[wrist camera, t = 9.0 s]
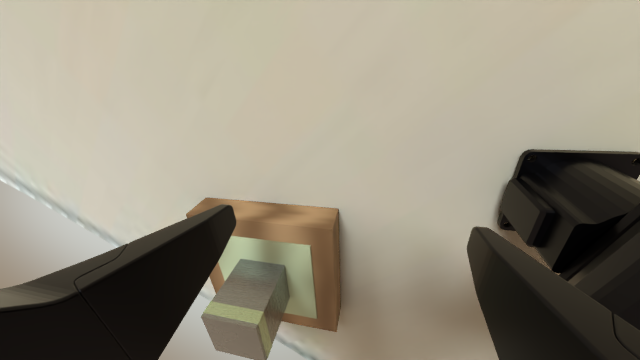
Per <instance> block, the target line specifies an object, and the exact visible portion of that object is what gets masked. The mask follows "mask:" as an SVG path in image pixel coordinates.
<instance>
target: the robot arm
mask: <svg viewBox="0 0 640 360" xmlns="http://www.w3.org/2000/svg"><path fill="white" fill-rule="evenodd" d="M531 155H534V157H533V158H532V159H530V160H528V157H529V156H531ZM636 158H637V160H636V161H635V162H633V163H632V161H633V160H634V159H636ZM639 175H640V153H638V152H617V151H575V150H534V149H531V150H527V151H525V152H524V153H522V155H521V157H520V160H519V162H518V165H517V168H516V171H515V174H514V177H513V178H512V179H511V180H510V181H509V183H508V186H507V189H506V192H505V195H504V198H503V201H502V204H501V206H500V209H501V213H500V216H499V219H498V225H499V226H500V228H502V229H504V230H512V231H517V233H518V234H519V235H520V237H521V238H522V239H523V241H524V242H525V243H526V244H527V246H529V247H534V248H535V249H536V250H537V251H538V253H539V254H540V255H541V257H542V258H543V259H544V261H545V262H546V263H547V265H548V266H549V267H550V268H551V270H552V271H551V270H550V269H548V268H547V267H545V266H544V265H542V264H541V263H539V262H538V261H536V260H535V259H533V258H532V257H531V256H529V255H528V254H526V253H525V252H523V251H522V250H520V249H519V248H517V247H516V246H514V245H513V244H511V243H510V242H508V241H507V240H506V239H504V238H503V237H501V236H500V235H498V234H497V233H495V232H494V231H492V230H491V229H489V228H487V227H474V228H473V229H472V231H471V234H470V238H469V241H468V245H467V253H468V258H469V263H470V267H471V272H472V276H473V281H474V285H475V290H476V294H477V297H478V300H479V303H480V306H481V309H482V312H483V315H484V318H485V320H486V323H487V326H488V329H489V332H490V335H491V338H492V341H493V343H494V346H495V349H496V352H497V355H498V358H499V360H640V182H639V181H638V180H637V178H638V177H639ZM506 222H508V223H507V224H504V223H506ZM235 227H236V217H235V214H234V210H233V207H232V206H231V205H228V204H221V205H218V206H216V207H213V208H211V209H209V210H206V211H204V212H201V213H199V214H197V215H194V216H192V217H190V218H187V219H185V220H182V221H180V222H178V223H175V224H173V225H171V226H168V227H166V228H163V229H161V230H159V231H156V232H154V233H151V234H149V235H147V236H144V237H142V238H140V239H137V240H135V241H132V242H130V243H129V244H125V245H123V246H120V247H118V248H116V249H113V250H111V251H108V252H106V253H103V254H101V255H98V256H96V257H93V258H91V259H88V260H85V261H83V262H80V263H78V264H75V265H72V266H70V267H67V268H64V269H62V270H59V271H56V272H54V273H51V274H48V275H46V276H43V277H40V278H38V279H35V280H32V281H30V282H26V283H23V284H20V285H16V286H13V287H8V288H3V289H0V360H158V359H159V357H160V355H161V354H162V352H163V351H164V349H165V347H166V346H167V344H168V342H169V341H170V339H171V338H172V336H173V334H174V332H175V331H176V329H177V328H178V326H179V324H180V323H181V321H182V320H183V318H184V316H185V315H186V313H187V312H188V310H189V308H190V306H191V305H192V303H193V302H194V300H195V298H196V297H197V295H198V294H199V292H200V290H201V289H202V287H203V286H204V284H205V282H206V281H207V279H208V277H209V276H210V274H211V273H212V271H213V269H214V268H215V266H216V264H217V263H218V261H219V259H220V258H221V256H222V254H223V252H224V250H225V248H226V246H227V244H228V241H229V239H230V237H231V235H232V233H233V231H234V229H235ZM554 272H556V273H561V274H560V275H557V274H556V273H554Z"/></svg>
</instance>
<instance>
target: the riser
mask: <svg viewBox="0 0 640 360" xmlns="http://www.w3.org/2000/svg"><path fill="white" fill-rule="evenodd" d="M221 204H228V205H231V206H232V207H233V210H234V214H235V217H236V227H235V229H234V231H233V233H232V235H231V237H230V239H229V241H228V244H227V246H226V248H225V250H224V252H223V254H222V256H221V258H220V259H219V261H218V263H217V264H216V266H215V268H214V269H213V271H212V273H211V274H210V279H211V282H212V284H213V287H214V289H215V292H216V294H217V292H218V291H219V289H220V288H221V287H222V285H223V284H224V282H225V281H226V279H227V278H228V276H229V275H230V273H231V272H232V270H233V269H234V268H235V266H236V265H237V263H238V262H239V260H240V259H247V260H253V261H260V262H267V263H274V264H280V265H285V269H286V276H287V282H288V288H289V294H290V299H289V302H288V304H287V307H286V310H285V312H284V315H283V317H282V320H281V321H284V322H289V323H294V324H299V325H304V326H309V327H314V328H319V329H324V330H329V331H334V332H337V326H338V320H339V314H340V308H341V300H340V259H339V217H338V209H335V208H323V207H312V206H300V205H288V204H276V203H264V202H252V201H240V200H228V199H216V198H205V199H204V200H203V201H201V202H200V203H199V204H198V205H197V206H195V207H194V208H193V209H192V210H191V211H189V212H188V213H187V214H186V216H187V218H190V217H192V216H194V215H197V214H199V213H201V212H204V211H206V210H209V209H211V208H213V207H216V206H218V205H221Z"/></svg>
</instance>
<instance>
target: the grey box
mask: <svg viewBox="0 0 640 360" xmlns="http://www.w3.org/2000/svg"><path fill="white" fill-rule="evenodd" d="M289 299H290V294H289V288H288V282H287V276H286V269H285V265H280V264H274V263H267V262H260V261H253V260H247V259H240V260H239V262H238V263H237V265H236V266H235V268H234V269H233V270H232V272H231V273H230V275H229V276H228V278H227V279H226V281H225V282H224V284H223V285H222V287H221V288H220V289H219V291H218V292H217V294H216V295H215V297H214V298H213V300H212V301H211V302H210V304H209V305H208V306H207V308H206V310H205V311H204V312H203V314H202V316H201V318H202V320H203V322H204V324H205V326H206V329H207V331H208V333H209V336H210V338H211V340H212V342H213V345H214V347H215V349H216V350H218V351H222V352H226V353H230V354H234V355H238V356H242V357H246V358H250V359H254V360H267V358H268V355H269V353H270V350H271V348H272V344H273V341H274V339H275V336H276V333H277V331H278V328H279V325H280V323H281V320H282V317H283V315H284V312H285V310H286V307H287V304H288V302H289Z"/></svg>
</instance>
